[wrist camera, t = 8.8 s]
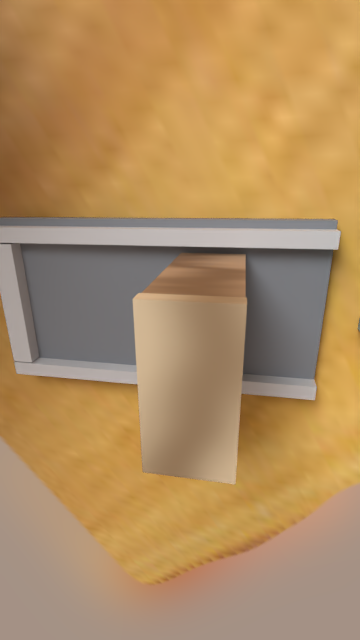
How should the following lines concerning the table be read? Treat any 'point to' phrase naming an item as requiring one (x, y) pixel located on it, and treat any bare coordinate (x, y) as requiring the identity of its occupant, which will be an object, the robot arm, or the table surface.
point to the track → (140, 271)
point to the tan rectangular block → (192, 366)
